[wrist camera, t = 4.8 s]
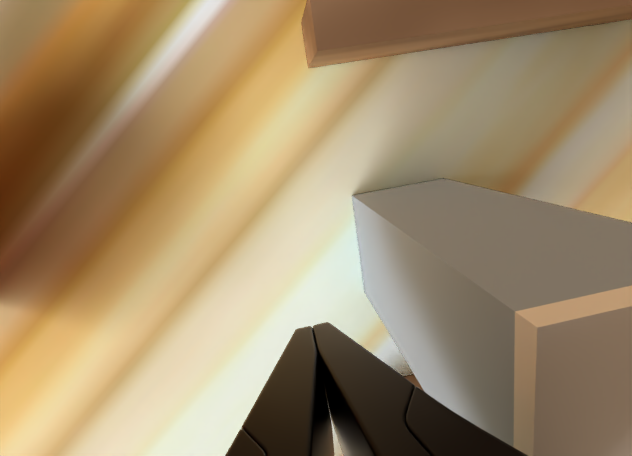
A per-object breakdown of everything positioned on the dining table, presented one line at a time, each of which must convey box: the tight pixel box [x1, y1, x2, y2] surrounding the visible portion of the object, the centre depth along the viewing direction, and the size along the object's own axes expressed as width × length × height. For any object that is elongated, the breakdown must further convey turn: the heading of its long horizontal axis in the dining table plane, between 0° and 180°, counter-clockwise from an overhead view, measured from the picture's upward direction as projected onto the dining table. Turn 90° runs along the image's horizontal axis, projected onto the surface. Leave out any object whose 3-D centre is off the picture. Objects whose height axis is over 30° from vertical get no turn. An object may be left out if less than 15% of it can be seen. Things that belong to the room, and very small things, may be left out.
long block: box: [352, 178, 632, 456], centre depth 10 cm, size 4×4×10 cm
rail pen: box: [301, 0, 632, 391], centre depth 14 cm, size 18×24×2 cm
